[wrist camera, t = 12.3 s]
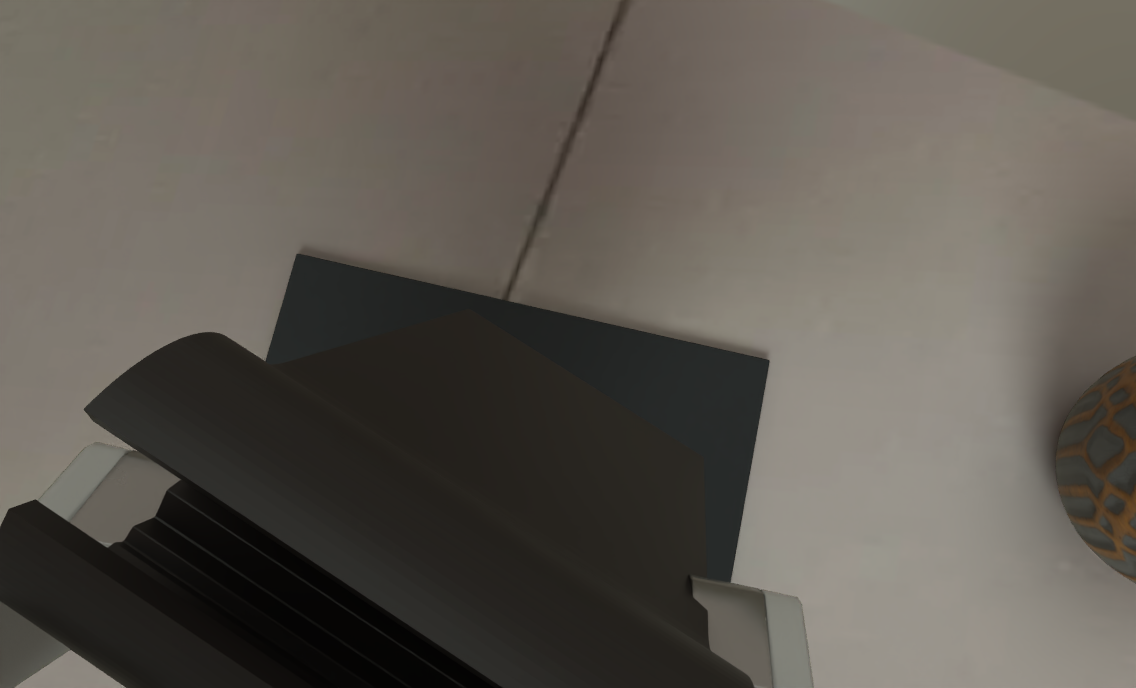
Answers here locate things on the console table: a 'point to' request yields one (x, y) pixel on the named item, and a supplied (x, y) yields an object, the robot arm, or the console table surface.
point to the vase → (1103, 468)
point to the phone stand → (382, 526)
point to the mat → (581, 346)
